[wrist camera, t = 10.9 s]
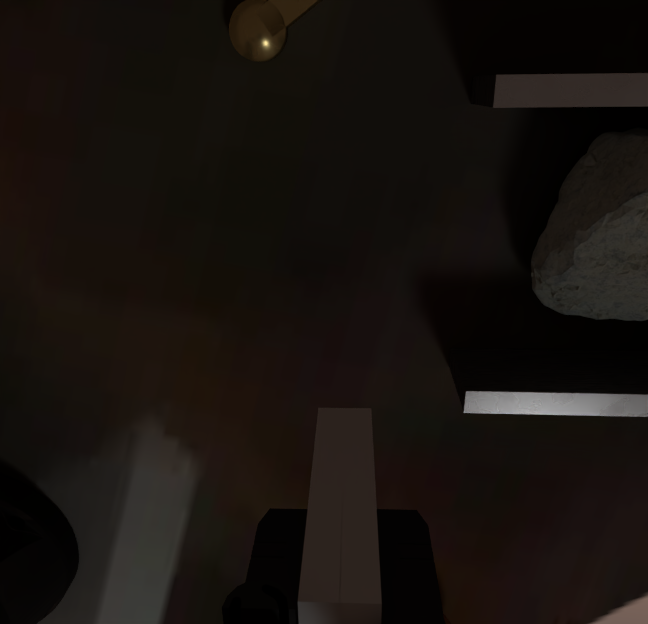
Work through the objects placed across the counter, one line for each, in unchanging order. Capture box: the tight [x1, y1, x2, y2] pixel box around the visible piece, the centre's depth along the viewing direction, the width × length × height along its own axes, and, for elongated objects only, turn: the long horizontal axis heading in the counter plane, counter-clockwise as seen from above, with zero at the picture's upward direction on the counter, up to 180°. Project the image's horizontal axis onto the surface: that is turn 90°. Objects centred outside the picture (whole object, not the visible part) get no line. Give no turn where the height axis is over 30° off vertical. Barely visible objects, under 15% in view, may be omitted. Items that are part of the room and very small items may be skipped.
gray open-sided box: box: [449, 73, 648, 417], centre depth 32 cm, size 17×19×8 cm
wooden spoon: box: [229, 0, 322, 62], centre depth 32 cm, size 8×3×1 cm, turn 126°
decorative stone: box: [531, 127, 648, 321], centre depth 33 cm, size 13×11×10 cm
